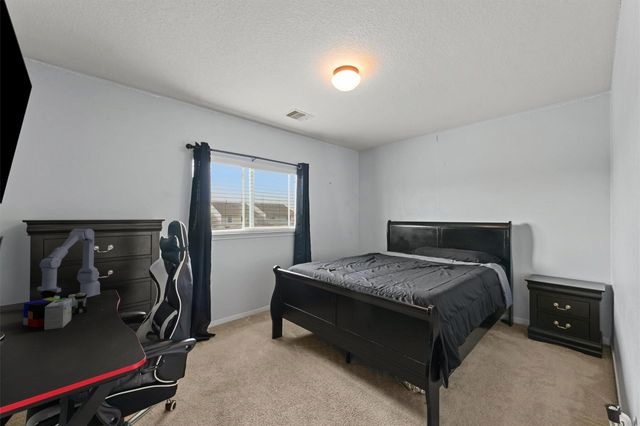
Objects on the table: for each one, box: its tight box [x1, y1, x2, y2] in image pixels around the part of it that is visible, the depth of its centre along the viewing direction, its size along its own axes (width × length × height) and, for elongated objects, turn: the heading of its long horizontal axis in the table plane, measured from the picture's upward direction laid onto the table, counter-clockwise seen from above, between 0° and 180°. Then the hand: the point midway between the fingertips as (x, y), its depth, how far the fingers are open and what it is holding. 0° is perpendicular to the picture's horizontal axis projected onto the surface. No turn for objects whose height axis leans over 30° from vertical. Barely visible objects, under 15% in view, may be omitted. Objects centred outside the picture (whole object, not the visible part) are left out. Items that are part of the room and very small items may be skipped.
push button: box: [71, 292, 87, 315], centre depth 144 cm, size 7×5×10 cm
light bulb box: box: [43, 298, 73, 331], centre depth 127 cm, size 11×7×11 cm, turn 27°
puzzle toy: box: [22, 298, 62, 328], centre depth 130 cm, size 10×10×10 cm
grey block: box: [68, 293, 77, 301], centre depth 158 cm, size 3×4×4 cm, turn 77°
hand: (48, 304), depth 149 cm, fingers closed
